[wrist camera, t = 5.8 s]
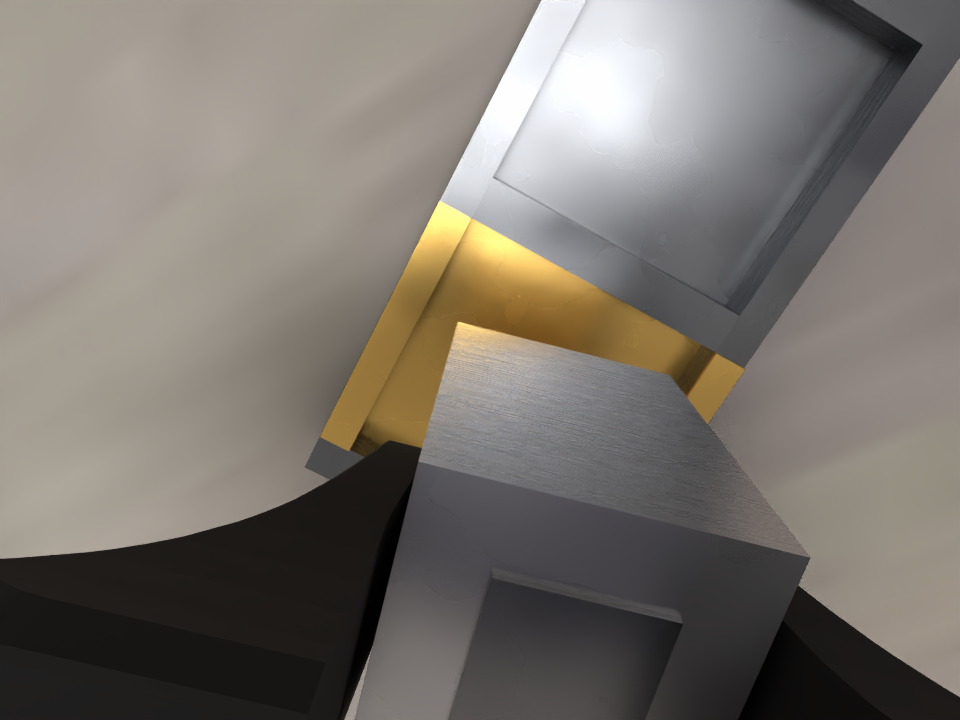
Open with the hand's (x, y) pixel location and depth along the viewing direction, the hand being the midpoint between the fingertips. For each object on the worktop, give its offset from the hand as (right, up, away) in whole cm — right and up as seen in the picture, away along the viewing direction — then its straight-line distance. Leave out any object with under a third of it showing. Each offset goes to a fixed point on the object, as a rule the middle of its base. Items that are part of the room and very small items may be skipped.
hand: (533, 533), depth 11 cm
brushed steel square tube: (0, +1, +2) cm, 2 cm away
